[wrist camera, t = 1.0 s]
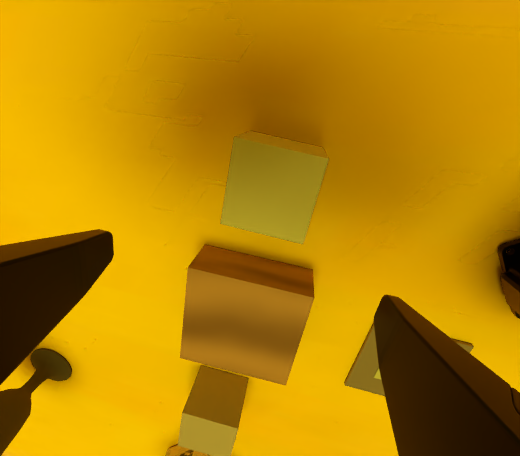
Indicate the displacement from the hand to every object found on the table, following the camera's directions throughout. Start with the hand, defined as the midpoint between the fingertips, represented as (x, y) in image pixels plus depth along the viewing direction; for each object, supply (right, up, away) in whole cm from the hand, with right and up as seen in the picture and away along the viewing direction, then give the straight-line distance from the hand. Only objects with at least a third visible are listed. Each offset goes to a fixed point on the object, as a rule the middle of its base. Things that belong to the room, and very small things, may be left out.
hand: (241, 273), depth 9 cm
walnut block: (0, -5, +16) cm, 16 cm away
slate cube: (-3, -15, +20) cm, 26 cm away
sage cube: (+2, +5, +11) cm, 12 cm away
